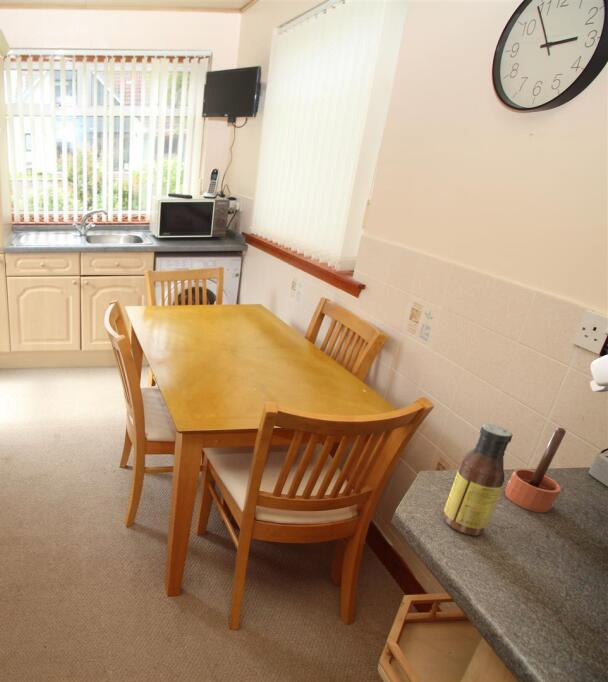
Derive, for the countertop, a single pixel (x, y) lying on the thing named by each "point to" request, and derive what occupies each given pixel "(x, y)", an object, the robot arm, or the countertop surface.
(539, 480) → the toilet plunger
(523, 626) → the countertop surface
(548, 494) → the bowl
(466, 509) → the sauce bottle
